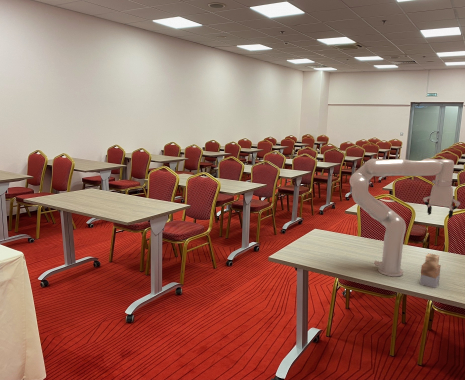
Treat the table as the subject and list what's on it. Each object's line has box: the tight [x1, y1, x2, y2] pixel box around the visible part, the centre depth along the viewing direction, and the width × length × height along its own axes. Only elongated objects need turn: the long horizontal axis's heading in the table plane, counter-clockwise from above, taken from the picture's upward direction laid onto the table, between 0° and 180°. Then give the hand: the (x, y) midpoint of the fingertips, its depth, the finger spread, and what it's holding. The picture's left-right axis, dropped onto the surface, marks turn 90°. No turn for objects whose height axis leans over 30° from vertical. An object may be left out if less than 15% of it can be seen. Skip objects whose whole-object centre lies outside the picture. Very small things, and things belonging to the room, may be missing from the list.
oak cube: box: [424, 253, 440, 268], centre depth 196 cm, size 5×5×5 cm
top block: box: [420, 262, 442, 278], centre depth 197 cm, size 7×7×5 cm
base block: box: [419, 274, 441, 289], centre depth 198 cm, size 7×7×5 cm
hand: (439, 216), depth 204 cm, fingers open, 9 cm apart
